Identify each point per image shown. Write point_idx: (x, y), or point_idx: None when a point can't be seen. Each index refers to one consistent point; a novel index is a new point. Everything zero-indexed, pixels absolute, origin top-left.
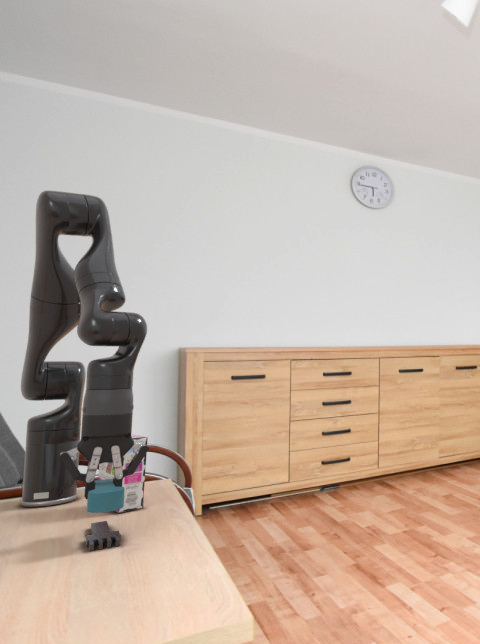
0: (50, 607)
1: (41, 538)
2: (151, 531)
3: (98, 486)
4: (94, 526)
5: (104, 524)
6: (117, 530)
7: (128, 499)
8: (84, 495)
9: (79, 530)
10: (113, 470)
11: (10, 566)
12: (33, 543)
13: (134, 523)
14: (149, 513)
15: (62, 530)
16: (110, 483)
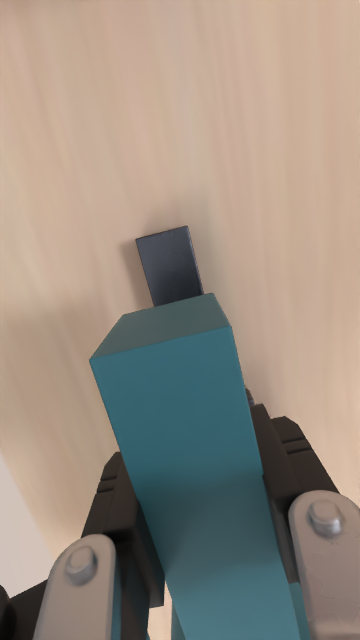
0: None
1: (8, 292)
2: (343, 375)
3: (194, 611)
4: (161, 304)
5: (191, 290)
6: (250, 403)
7: None
8: (106, 468)
9: (101, 235)
10: (302, 591)
11: (45, 540)
12: (9, 347)
13: (282, 221)
14: (331, 38)
15: (37, 201)
16: (257, 542)
